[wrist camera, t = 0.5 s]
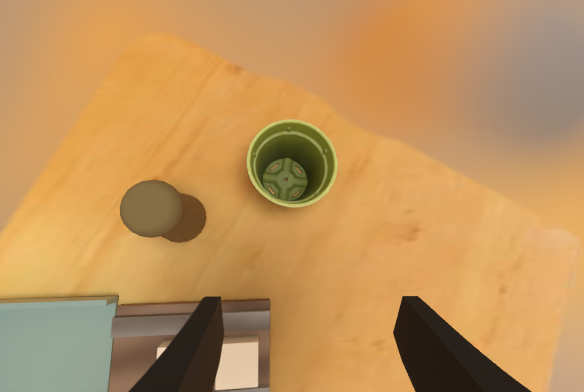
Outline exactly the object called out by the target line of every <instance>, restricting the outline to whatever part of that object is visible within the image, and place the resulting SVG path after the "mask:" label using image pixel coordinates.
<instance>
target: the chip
mask: <svg viewBox="0 0 584 392" xmlns="http://www.w3.org/2000/svg"><path fill="white" fill-rule="evenodd" d="M251 387H258V335H256V336H237V337H224V340H223V346H222V352H221V358H220V363H219V367H218V371H217V375H216V382H215V390H226V389H238V388H251Z"/></svg>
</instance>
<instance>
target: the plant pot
mask: <svg viewBox="0 0 584 392" xmlns="http://www.w3.org/2000/svg"><path fill="white" fill-rule="evenodd" d="M275 164H279V166H277V167H275V168H274V169H273V170H271V168H272V167H273V166H274V165H275ZM295 166H296V167H298V168H299V169H300V170H301V171H302V174H300V173H299V171H298V170H297V169H296V168H295ZM247 169H248V174H249V177H250V179H251V181H252V183H253V185H254V186H255V188H256V189H257V190H258V191H259V192H260V193H261V194H262V195H263V196H264V197H265V198H267V199H268V200H270V201H271V202H273V203H275V204H278V205H281V206H284V207H292V208H296V207H304V206H308V205H311V204H313V203H315V202H317V201H318V200H320V199H321V198H322V197H323V196H324V195H326V193H327V192H328V191H329V190H330V188H331V187H332V185H333V183H334V181H335V178H336V174H337V155H336V152H335V149H334V147H333V145H332V143H331V141H330V140H329V138H328V137H327V136H326V135H325V134H324V133H323V132H322V131H321V130H320V129H318V128H317V127H315V126H313V125H311V124H309V123H307V122H304V121H300V120H293V119H291V120H281V121H277V122H274V123H271V124H269V125H268V126H266V127H265V128H263V129H262V130H261V131H260V132H259V133H258V134H257V135H256V136H255V138H254V139H253V141H252V142H251V144H250V147H249V150H248V154H247ZM284 178H287V179H288V180H287V181H284ZM269 186H270V187H271V189H272V190H273V191H274V192H275V193H276V194H275V195H274V194H272V193H271V191H270V190H269V188H268V187H269ZM299 190H300V193H299V194H298V195H297V196H295V197H293V196H292V195H294V194H295V193H297V192H298V191H299Z"/></svg>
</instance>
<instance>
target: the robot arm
mask: <svg viewBox="0 0 584 392" xmlns="http://www.w3.org/2000/svg"><path fill="white" fill-rule="evenodd" d="M393 334H394V337H395V340H396V344H397V347H398V350H399V353H400V356H401V359H402V362H403V364H404V366H405V369H406V371H407V373H408V376H409V378H410V380H411V382H412V385H413V387H414V389H415V391H416V392H531V391H530V390H529V389H527V388H526V387H524V386H523V385H522V384H520V383H519V382H518V381H516V380H515V379H514V378H512V377H511V376H510V375H508V374H507V373H506V372H505V371H503V370H502V369H501V368H500V367H498V366H497V365H496V364H495V363H493V362H492V361H491V360H490V359H489V358H487V357H486V356H485V355H484V354H482V353H481V352H480V351H479V350H478V349H476V348H475V347H474V346H473V345H472V344H471V343H469V342H468V341H467V340H466V339H465V338H464V337H463V336H461V335H460V334H459V333H458V332H457V331H456V330H455V329H454V328H452V327H451V326H450V325H449V324H448V323H447V322H446V321H445V320H444V319H443V318H441V317H440V316H439V315H438V314H437V313H436V312H435V311H434V310H433V309H432V308H430V307H429V306H428V305H427V304H426V303H425V302H424V301H423V300H421V299H420V298H419V297H418V296H403V297H402V301H401V305H400V309H399V312H398V316H397V320H396V324H395V328H394V331H393ZM223 340H224V325H223V315H222V304H221V297H204V298H203V299H202V300H201V302H200V303H199V305H198V306H197V307H196V309H195V310H194V312H193V313H192V315H191V316H190V317H189V319H188V320H187V322H186V323H185V324H184V326H183V327H182V328H181V330H180V331H179V332H178V334H177V335H176V336H175V337H174V339H173V340H172V341H171V343H170V344H169V345H168V346H167V348H166V349H165V350H164V351H163V353H162V354H161V355H160V356H159V357H158V358H157V360H156V361H155V362H154V363H153V364H152V366H151V367H150V368H149V369H148V370H147V371H146V373H145V374H144V375H143V376H142V377H141V378H140V379H139V380H138V381H137V383H136V384H135V385H134V386H133V387H132V388H131V389H130V390H129V391H128V392H212V390H213V386H214V382H215V379H216V375H217V371H218V367H219V363H220V358H221V352H222V346H223Z"/></svg>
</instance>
